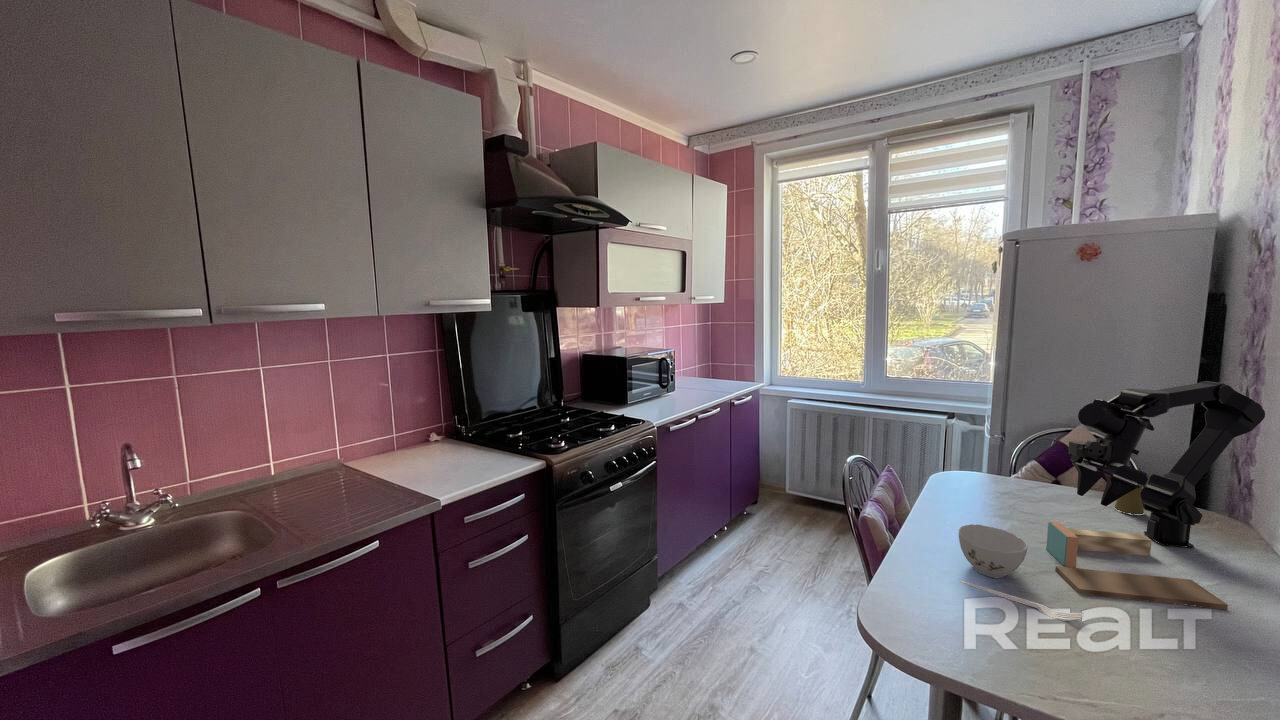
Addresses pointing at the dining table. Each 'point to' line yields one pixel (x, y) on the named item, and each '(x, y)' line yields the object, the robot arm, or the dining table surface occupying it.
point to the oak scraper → (1112, 542)
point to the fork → (1034, 605)
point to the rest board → (1139, 587)
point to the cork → (1131, 502)
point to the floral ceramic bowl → (992, 549)
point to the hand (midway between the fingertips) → (1090, 500)
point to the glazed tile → (1062, 544)
